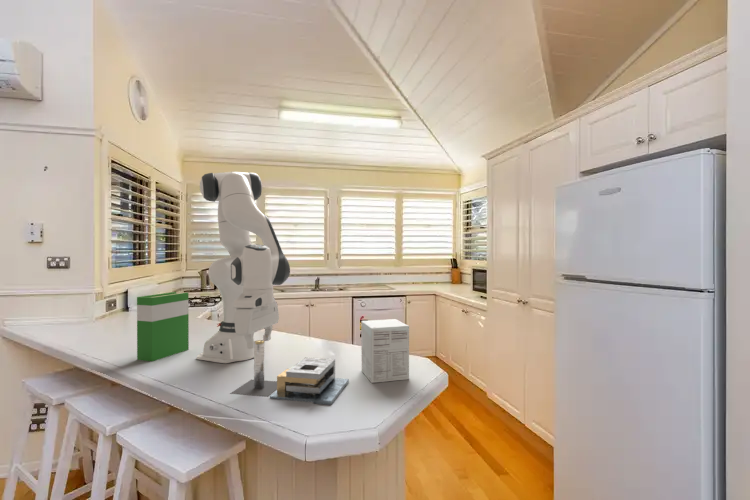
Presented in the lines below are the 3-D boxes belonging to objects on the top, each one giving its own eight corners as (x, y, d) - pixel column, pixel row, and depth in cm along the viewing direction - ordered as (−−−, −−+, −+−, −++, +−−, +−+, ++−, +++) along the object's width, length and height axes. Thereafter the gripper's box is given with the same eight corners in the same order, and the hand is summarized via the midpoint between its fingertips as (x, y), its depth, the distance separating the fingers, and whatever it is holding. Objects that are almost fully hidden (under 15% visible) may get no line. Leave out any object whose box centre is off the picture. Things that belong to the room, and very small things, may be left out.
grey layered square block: (269, 399, 107) (269, 373, 107) (295, 378, 124) (295, 355, 124) (331, 404, 103) (331, 377, 103) (348, 382, 121) (348, 358, 121)
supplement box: (410, 379, 123) (410, 325, 123) (371, 383, 119) (371, 328, 119) (396, 367, 136) (396, 318, 136) (360, 370, 132) (360, 320, 132)
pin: (252, 389, 114) (252, 342, 114) (257, 385, 117) (257, 339, 117) (261, 389, 113) (261, 342, 113) (266, 386, 116) (266, 340, 116)
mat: (229, 394, 110) (229, 393, 110) (251, 380, 122) (251, 379, 122) (268, 398, 108) (268, 396, 108) (286, 383, 120) (286, 382, 120)
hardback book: (174, 348, 162) (174, 291, 162) (188, 349, 160) (188, 292, 160) (137, 359, 145) (137, 297, 145) (152, 361, 143) (151, 297, 143)
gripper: (265, 294, 125) (266, 336, 125) (229, 302, 105) (231, 352, 105) (283, 294, 124) (284, 336, 124) (250, 302, 104) (251, 353, 104)
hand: (259, 344), depth 115 cm, fingers open, 8 cm apart
